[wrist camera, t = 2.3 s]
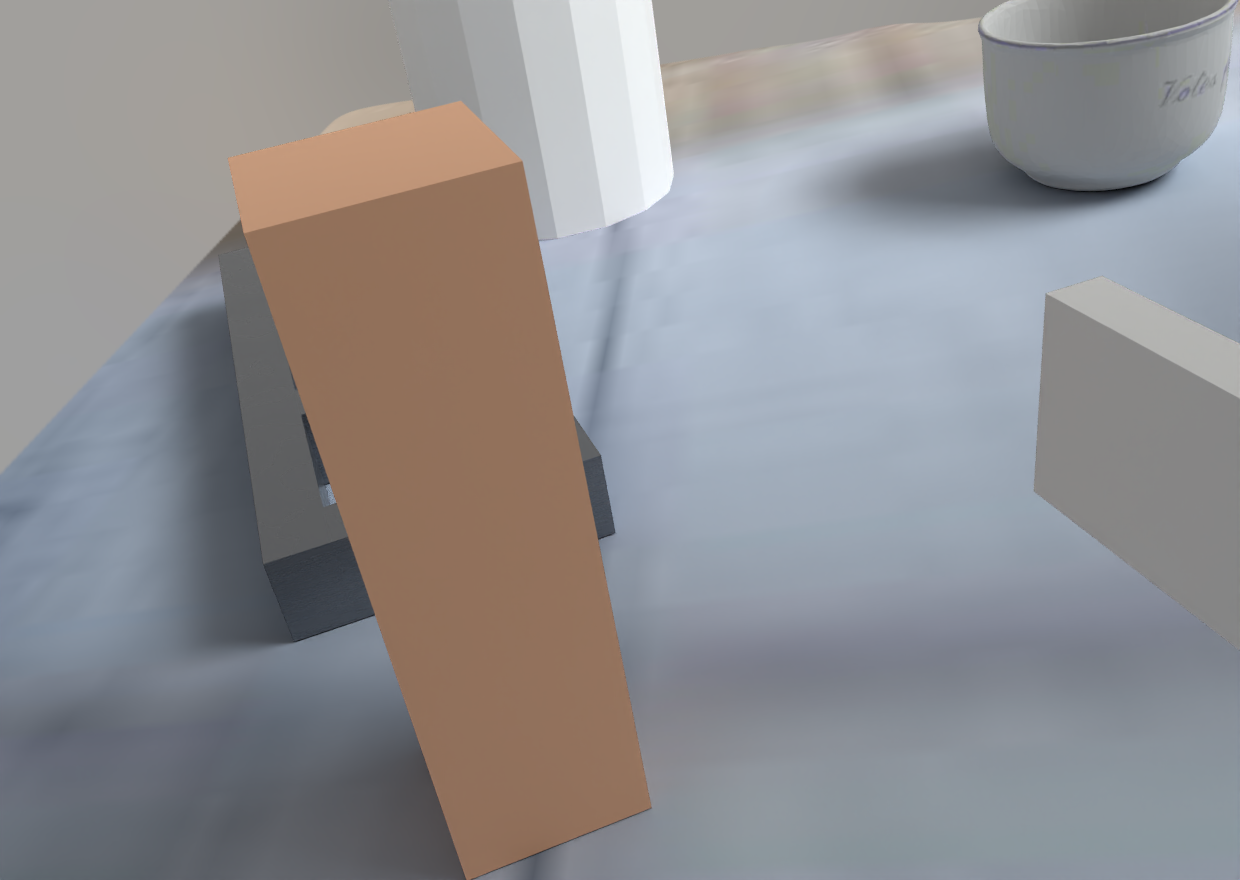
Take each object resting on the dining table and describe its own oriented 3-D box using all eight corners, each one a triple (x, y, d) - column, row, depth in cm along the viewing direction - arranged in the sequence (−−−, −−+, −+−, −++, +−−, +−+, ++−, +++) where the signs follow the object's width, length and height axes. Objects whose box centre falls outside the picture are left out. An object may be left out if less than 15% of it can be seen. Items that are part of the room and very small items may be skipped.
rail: (440, 255, 59) (426, 200, 58) (615, 532, 37) (601, 454, 35) (238, 310, 57) (218, 255, 55) (294, 641, 35) (263, 564, 33)
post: (590, 685, 31) (460, 100, 23) (651, 807, 27) (522, 160, 19) (427, 745, 30) (227, 157, 22) (467, 881, 26) (244, 233, 18)
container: (614, 136, 72) (557, -230, 61) (720, 190, 61) (674, -241, 50) (411, 196, 68) (313, -183, 57) (487, 265, 57) (384, -186, 47)
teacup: (1202, 218, 50) (1226, 29, 45) (951, 205, 55) (952, 35, 51) (1233, 113, 60) (1255, -51, 55) (1017, 111, 65) (1023, -39, 60)
